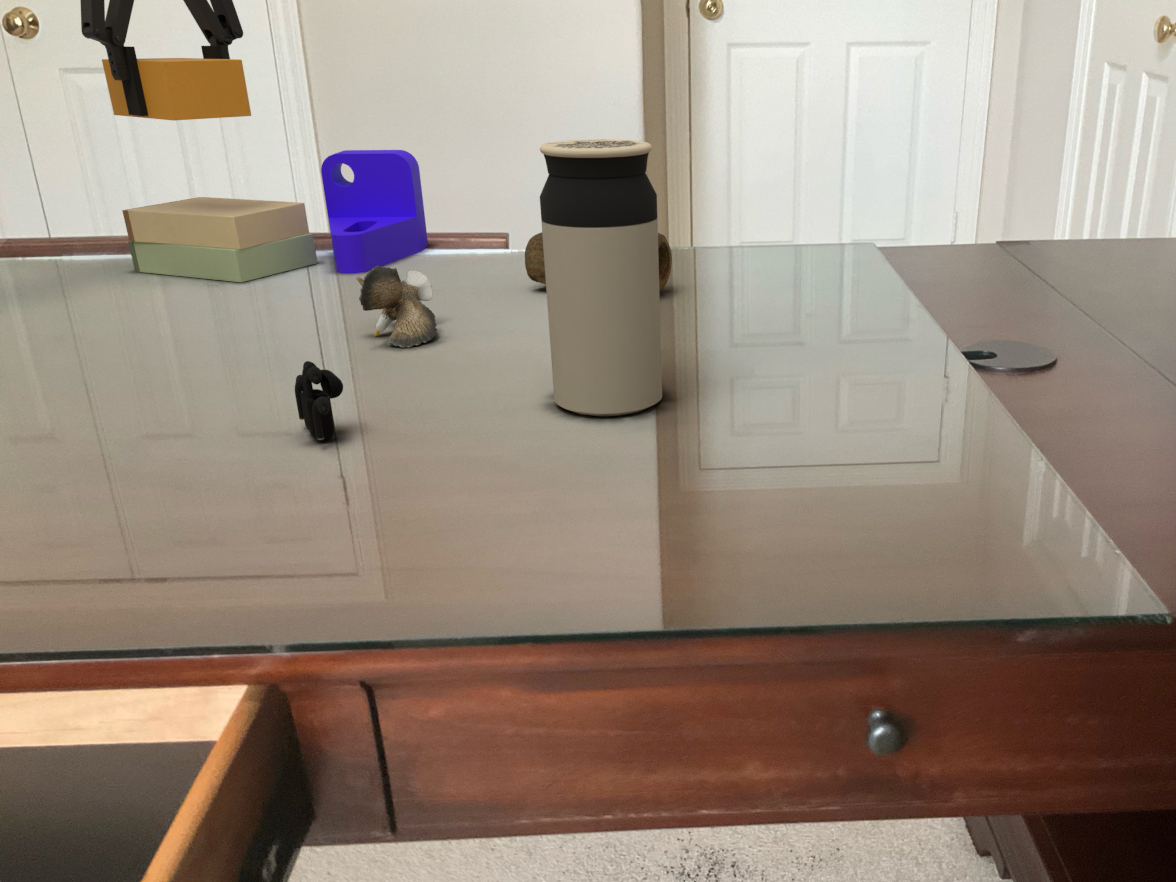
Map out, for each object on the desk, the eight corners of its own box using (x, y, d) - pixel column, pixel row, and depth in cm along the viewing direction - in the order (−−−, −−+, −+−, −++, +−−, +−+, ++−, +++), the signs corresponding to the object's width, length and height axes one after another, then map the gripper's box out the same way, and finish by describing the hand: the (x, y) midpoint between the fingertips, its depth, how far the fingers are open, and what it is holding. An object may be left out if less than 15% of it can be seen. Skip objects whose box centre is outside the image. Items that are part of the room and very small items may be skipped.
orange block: (251, 115, 115) (241, 59, 113) (173, 120, 109) (161, 61, 107) (190, 110, 123) (179, 57, 120) (113, 115, 117) (101, 59, 114)
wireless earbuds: (297, 424, 76) (285, 354, 73) (334, 418, 77) (322, 348, 75) (322, 454, 70) (310, 379, 68) (361, 447, 71) (350, 373, 69)
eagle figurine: (337, 316, 100) (341, 320, 91) (371, 246, 99) (377, 243, 91) (414, 355, 103) (425, 361, 95) (447, 287, 102) (460, 288, 94)
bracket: (343, 246, 140) (328, 150, 135) (428, 245, 140) (417, 149, 135) (301, 274, 124) (283, 166, 119) (397, 273, 124) (383, 165, 119)
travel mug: (682, 406, 79) (677, 145, 71) (583, 425, 75) (566, 152, 67) (631, 379, 85) (621, 136, 77) (537, 396, 81) (517, 142, 74)
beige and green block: (132, 272, 125) (118, 209, 122) (216, 253, 135) (205, 195, 132) (240, 283, 119) (227, 217, 116) (319, 263, 129) (309, 202, 126)
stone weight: (677, 287, 116) (676, 223, 113) (658, 302, 110) (656, 234, 107) (546, 281, 119) (542, 218, 116) (521, 294, 113) (515, 229, 110)
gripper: (216, -121, 116) (255, 106, 125) (-1, -144, 101) (61, 116, 110) (254, -126, 112) (291, 109, 121) (33, -151, 96) (95, 120, 106)
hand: (181, 112), depth 116 cm, fingers closed on orange block, 8 cm apart
